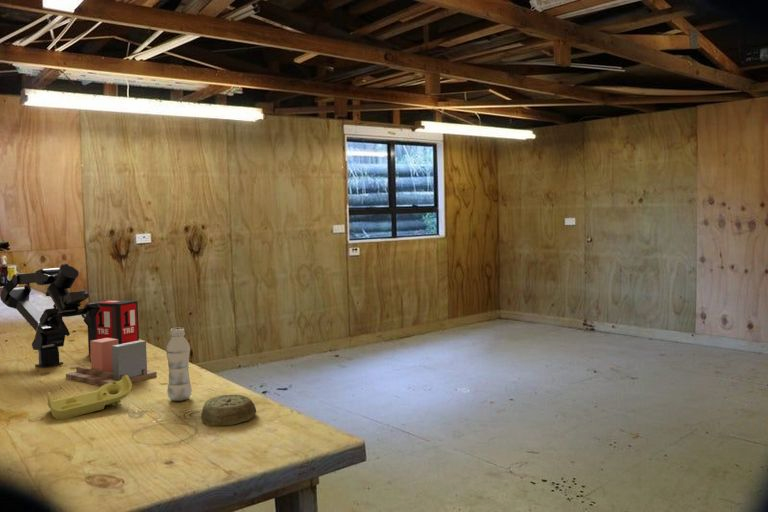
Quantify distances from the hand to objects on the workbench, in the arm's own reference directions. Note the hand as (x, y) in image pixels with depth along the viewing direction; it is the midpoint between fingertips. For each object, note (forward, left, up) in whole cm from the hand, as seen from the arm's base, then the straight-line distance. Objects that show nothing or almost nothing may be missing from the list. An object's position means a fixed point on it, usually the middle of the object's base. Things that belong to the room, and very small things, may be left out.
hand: (81, 332), depth 203 cm
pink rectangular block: (+12, -2, -11) cm, 17 cm away
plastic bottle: (+55, -14, -13) cm, 58 cm away
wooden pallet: (+15, -2, -13) cm, 20 cm away
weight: (+78, -22, -14) cm, 82 cm away
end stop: (+25, -4, -12) cm, 28 cm away
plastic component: (+38, -29, -14) cm, 50 cm away
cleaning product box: (-14, +26, -13) cm, 32 cm away
